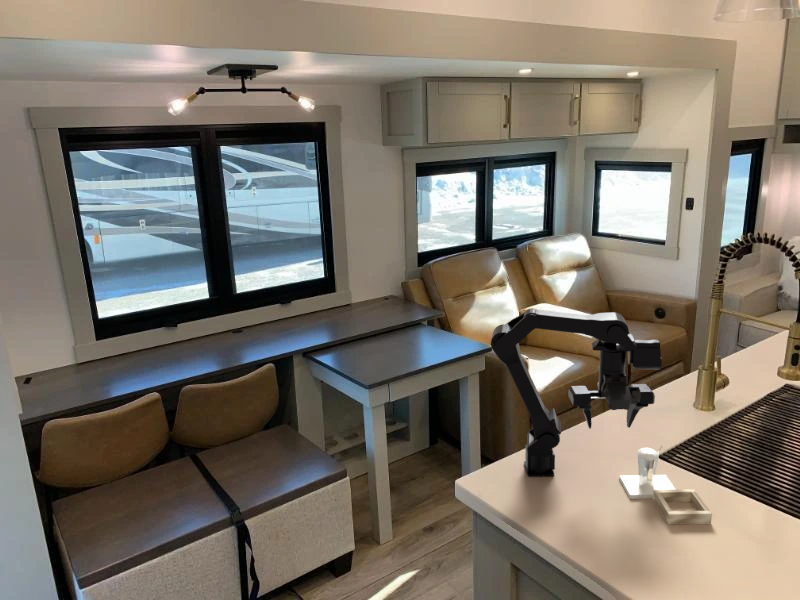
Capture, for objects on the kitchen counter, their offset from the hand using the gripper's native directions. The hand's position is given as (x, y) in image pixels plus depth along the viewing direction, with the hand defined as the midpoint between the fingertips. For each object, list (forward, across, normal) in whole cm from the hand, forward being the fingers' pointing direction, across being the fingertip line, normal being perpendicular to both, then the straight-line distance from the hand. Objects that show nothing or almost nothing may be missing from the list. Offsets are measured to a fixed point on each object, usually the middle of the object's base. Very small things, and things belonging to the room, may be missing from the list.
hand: (609, 427), depth 146 cm
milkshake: (+12, +8, -6) cm, 16 cm away
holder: (+13, +12, -15) cm, 23 cm away
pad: (+13, +8, -6) cm, 16 cm away
